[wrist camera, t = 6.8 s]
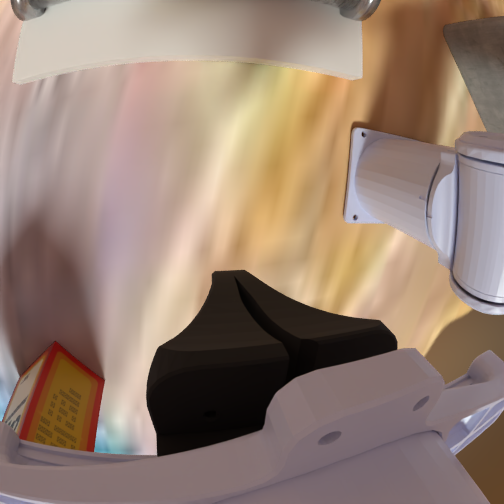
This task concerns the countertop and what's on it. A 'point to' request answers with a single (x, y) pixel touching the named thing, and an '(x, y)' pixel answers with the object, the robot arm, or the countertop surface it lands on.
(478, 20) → the hip flask
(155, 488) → the robot arm
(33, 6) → the ball valve
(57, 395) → the baking soda box
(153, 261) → the countertop surface
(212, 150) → the countertop surface
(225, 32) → the mounting board
